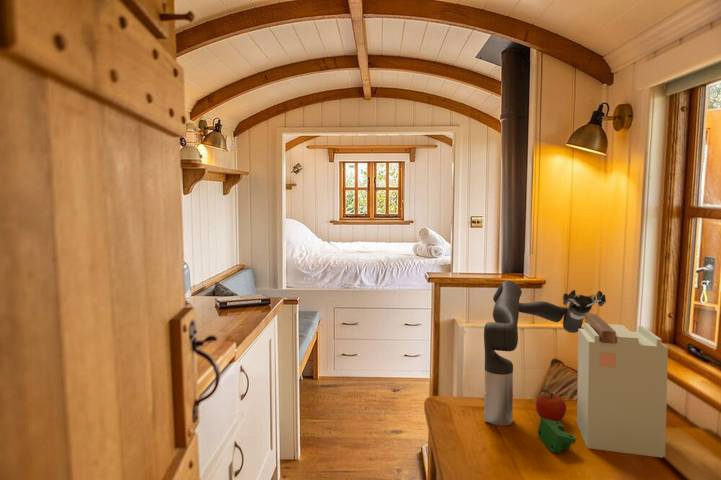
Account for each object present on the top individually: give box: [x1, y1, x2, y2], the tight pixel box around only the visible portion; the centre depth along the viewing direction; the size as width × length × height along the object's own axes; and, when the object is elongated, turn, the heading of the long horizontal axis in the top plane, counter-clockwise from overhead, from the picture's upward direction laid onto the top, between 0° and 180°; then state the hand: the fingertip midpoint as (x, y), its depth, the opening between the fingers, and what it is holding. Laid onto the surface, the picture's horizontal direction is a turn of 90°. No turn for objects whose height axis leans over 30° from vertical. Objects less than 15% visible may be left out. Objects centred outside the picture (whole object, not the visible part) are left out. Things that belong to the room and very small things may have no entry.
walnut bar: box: [584, 313, 616, 344], centre depth 137 cm, size 4×24×4 cm, turn 163°
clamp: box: [537, 417, 577, 454], centre depth 131 cm, size 12×6×9 cm, turn 175°
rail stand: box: [576, 322, 669, 459], centre depth 133 cm, size 20×16×34 cm
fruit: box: [535, 389, 567, 422], centre depth 148 cm, size 10×10×10 cm
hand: (587, 292), depth 160 cm, fingers open, 8 cm apart
